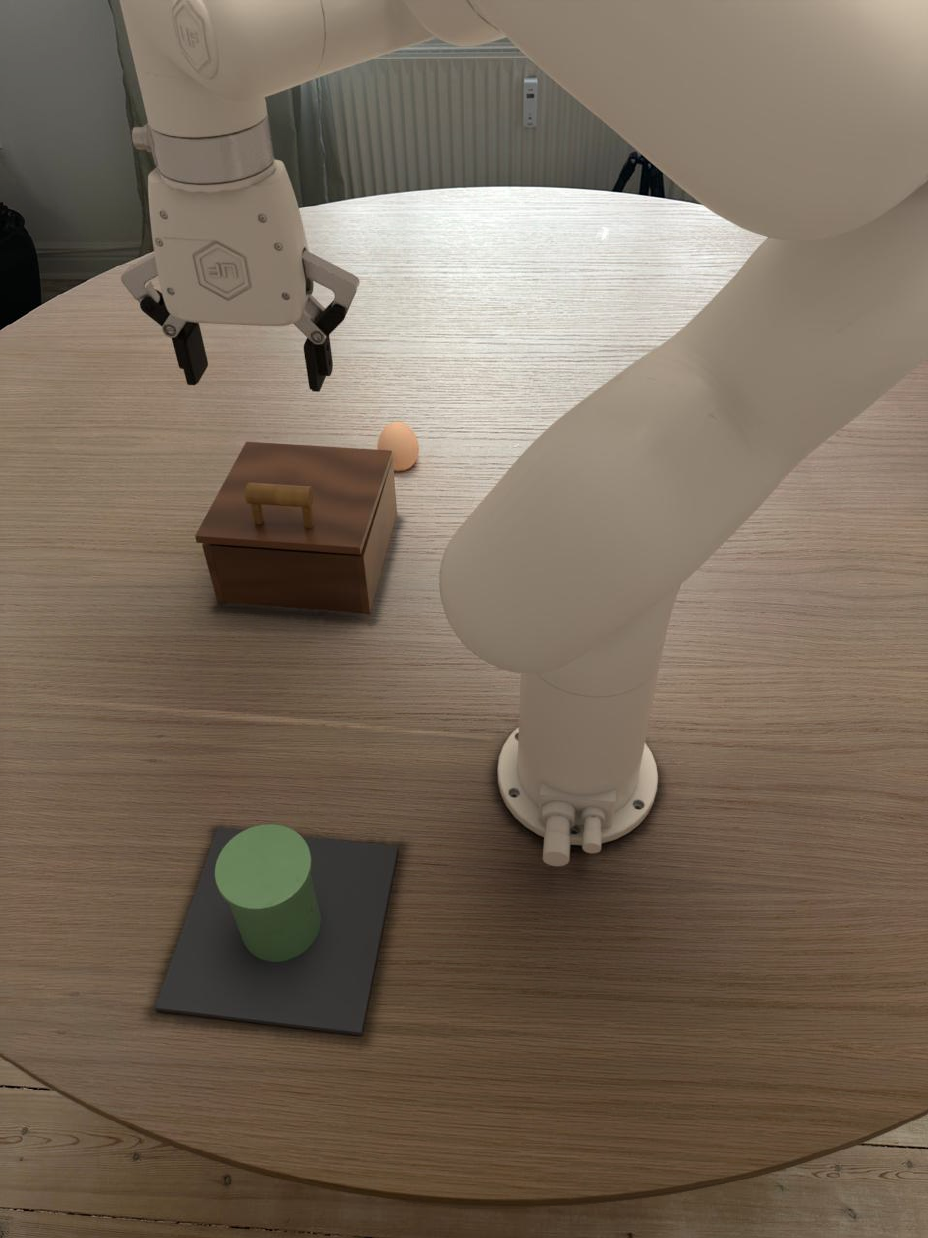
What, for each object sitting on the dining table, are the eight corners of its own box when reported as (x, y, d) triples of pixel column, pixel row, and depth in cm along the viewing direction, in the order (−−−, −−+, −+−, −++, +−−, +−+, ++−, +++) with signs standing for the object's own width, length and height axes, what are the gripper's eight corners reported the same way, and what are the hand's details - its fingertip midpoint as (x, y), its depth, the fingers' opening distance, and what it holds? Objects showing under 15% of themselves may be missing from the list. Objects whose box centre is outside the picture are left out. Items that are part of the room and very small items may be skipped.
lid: (360, 554, 84) (356, 509, 81) (196, 542, 86) (185, 497, 83) (392, 457, 96) (389, 413, 92) (247, 448, 97) (239, 405, 94)
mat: (362, 1036, 64) (361, 1033, 64) (156, 1011, 66) (154, 1008, 65) (398, 849, 74) (398, 846, 74) (218, 831, 75) (217, 827, 75)
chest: (370, 619, 91) (363, 557, 86) (218, 607, 93) (201, 545, 87) (397, 519, 101) (392, 457, 96) (260, 510, 103) (247, 448, 97)
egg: (392, 485, 105) (388, 441, 101) (371, 464, 108) (367, 421, 104) (427, 471, 107) (425, 427, 103) (406, 451, 110) (403, 407, 106)
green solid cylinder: (313, 971, 67) (297, 914, 61) (225, 961, 67) (201, 903, 62) (333, 889, 71) (320, 828, 65) (250, 880, 72) (230, 819, 66)
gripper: (64, 166, 62) (134, 400, 74) (331, 174, 60) (358, 412, 73) (108, 124, 67) (167, 349, 80) (356, 130, 66) (377, 359, 78)
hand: (258, 378), depth 76 cm, fingers open, 9 cm apart
